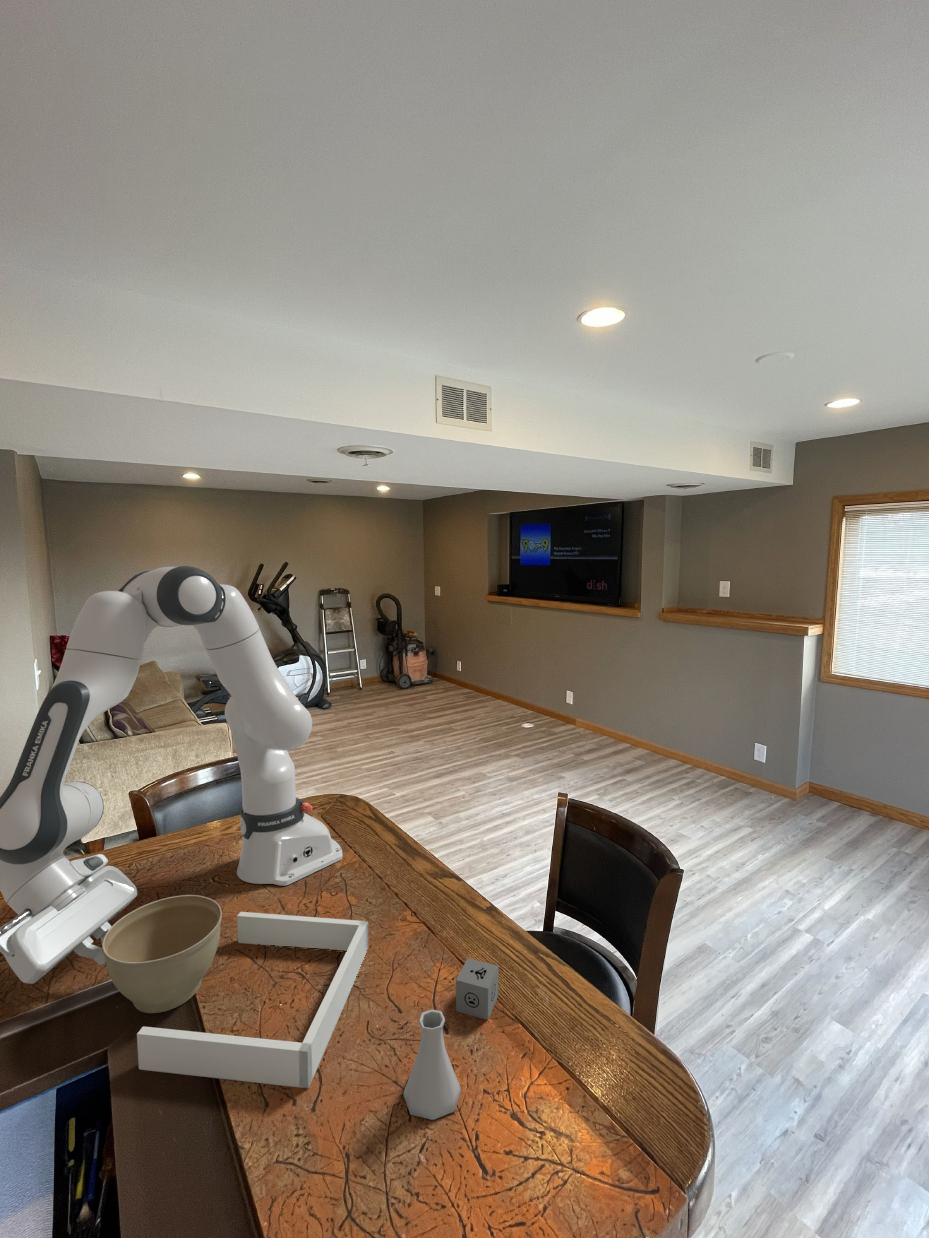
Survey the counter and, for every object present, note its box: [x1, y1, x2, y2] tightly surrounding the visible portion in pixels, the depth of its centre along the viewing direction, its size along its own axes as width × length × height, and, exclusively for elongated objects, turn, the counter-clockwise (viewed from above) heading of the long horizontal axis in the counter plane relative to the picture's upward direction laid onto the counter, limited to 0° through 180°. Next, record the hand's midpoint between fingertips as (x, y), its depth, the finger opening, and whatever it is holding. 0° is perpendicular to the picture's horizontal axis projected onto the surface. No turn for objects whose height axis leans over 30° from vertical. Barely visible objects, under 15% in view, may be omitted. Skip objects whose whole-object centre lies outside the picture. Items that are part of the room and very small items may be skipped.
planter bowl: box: [101, 894, 223, 1014], centre depth 87 cm, size 16×16×11 cm
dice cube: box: [455, 957, 499, 1021], centre depth 85 cm, size 5×5×5 cm
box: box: [136, 911, 370, 1089], centre depth 85 cm, size 23×26×5 cm
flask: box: [403, 1009, 462, 1121], centre depth 70 cm, size 7×7×10 cm
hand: (111, 956), depth 88 cm, fingers closed
